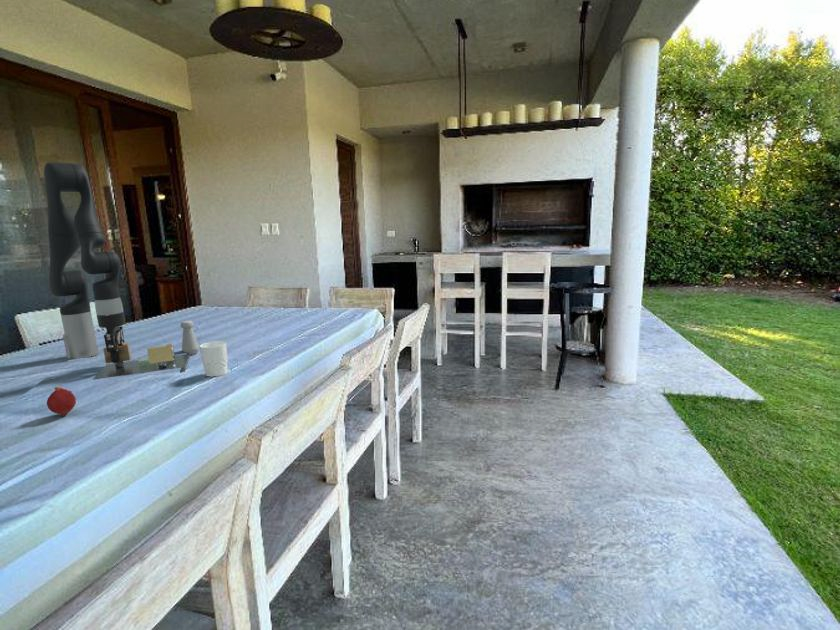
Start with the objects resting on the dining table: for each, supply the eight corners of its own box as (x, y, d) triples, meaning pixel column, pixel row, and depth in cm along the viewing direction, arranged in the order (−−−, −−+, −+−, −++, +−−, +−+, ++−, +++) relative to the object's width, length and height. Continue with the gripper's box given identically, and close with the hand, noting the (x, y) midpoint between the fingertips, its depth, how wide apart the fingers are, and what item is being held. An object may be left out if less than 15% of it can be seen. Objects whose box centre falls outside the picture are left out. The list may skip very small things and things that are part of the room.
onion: (60, 411, 118) (54, 383, 117) (83, 409, 119) (77, 381, 117) (44, 420, 113) (38, 391, 111) (68, 419, 113) (62, 389, 112)
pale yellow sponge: (150, 368, 147) (146, 347, 146) (151, 366, 150) (147, 346, 148) (173, 365, 150) (170, 345, 149) (174, 363, 152) (171, 343, 151)
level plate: (93, 384, 139) (89, 367, 138) (107, 368, 156) (105, 353, 155) (185, 371, 149) (182, 355, 148) (190, 357, 165) (187, 343, 164)
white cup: (234, 370, 148) (231, 341, 146) (217, 378, 141) (213, 348, 139) (216, 369, 150) (212, 340, 148) (198, 376, 143) (193, 346, 141)
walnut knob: (106, 368, 149) (102, 347, 148) (108, 366, 152) (104, 346, 150) (130, 365, 152) (127, 345, 151) (132, 363, 154) (128, 343, 153)
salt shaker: (192, 356, 167) (187, 323, 164) (179, 356, 168) (174, 322, 165) (202, 352, 172) (198, 319, 170) (189, 351, 173) (185, 319, 171)
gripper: (102, 309, 153) (110, 356, 157) (90, 316, 140) (99, 367, 143) (127, 307, 156) (135, 353, 159) (118, 314, 143) (126, 363, 146)
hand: (118, 359), depth 151 cm, fingers open, 6 cm apart
